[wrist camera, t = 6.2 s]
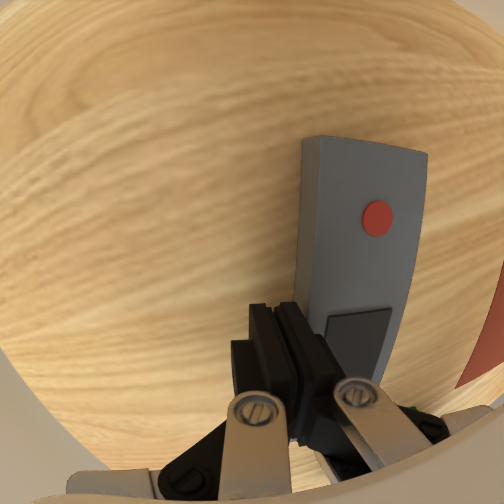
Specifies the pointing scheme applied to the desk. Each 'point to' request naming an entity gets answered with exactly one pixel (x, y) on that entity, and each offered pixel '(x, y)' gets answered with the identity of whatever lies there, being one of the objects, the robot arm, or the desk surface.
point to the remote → (358, 245)
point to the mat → (488, 339)
